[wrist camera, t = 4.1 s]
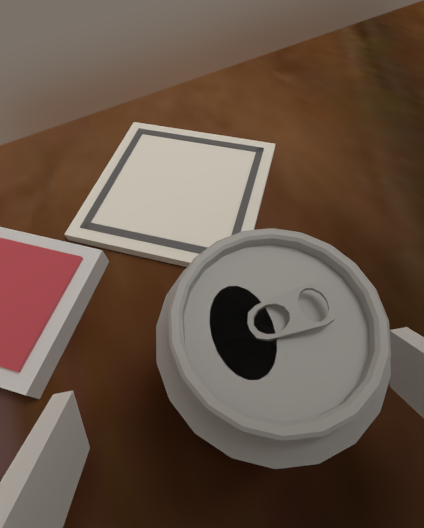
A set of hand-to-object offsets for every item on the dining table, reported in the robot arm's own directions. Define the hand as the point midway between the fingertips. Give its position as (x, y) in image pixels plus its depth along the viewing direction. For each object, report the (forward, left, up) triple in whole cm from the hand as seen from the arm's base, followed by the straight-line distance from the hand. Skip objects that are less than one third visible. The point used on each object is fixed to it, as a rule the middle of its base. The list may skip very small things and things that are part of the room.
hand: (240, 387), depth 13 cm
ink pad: (+17, -2, -7) cm, 19 cm away
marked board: (+8, -15, -7) cm, 19 cm away
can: (-1, -1, -7) cm, 7 cm away
